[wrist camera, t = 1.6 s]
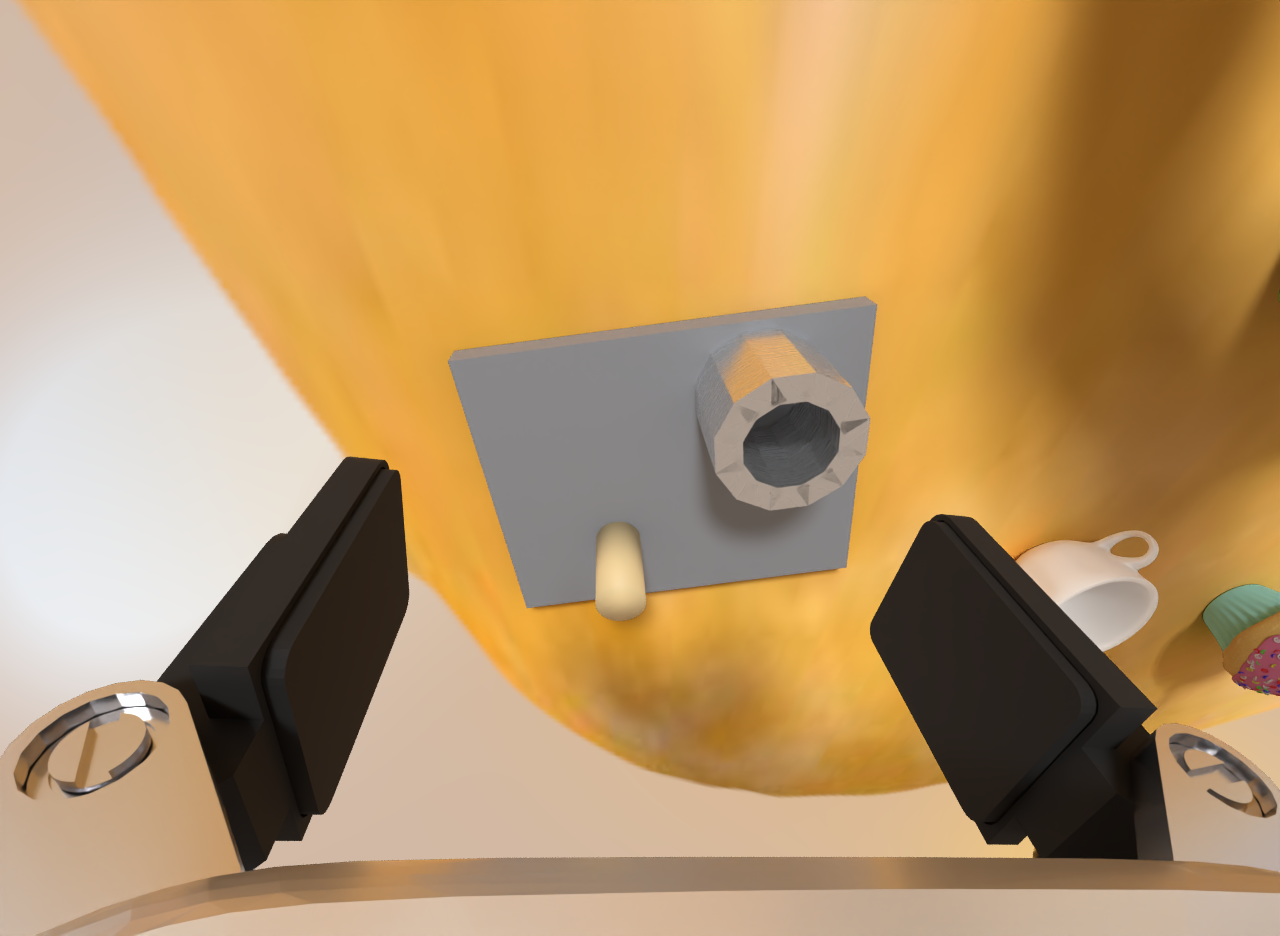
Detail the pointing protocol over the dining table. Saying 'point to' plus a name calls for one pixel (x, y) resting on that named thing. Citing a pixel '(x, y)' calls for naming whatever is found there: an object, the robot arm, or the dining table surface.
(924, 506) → the dining table surface
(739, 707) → the dining table surface
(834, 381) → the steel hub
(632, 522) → the stand
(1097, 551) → the teacup
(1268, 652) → the cupcake
